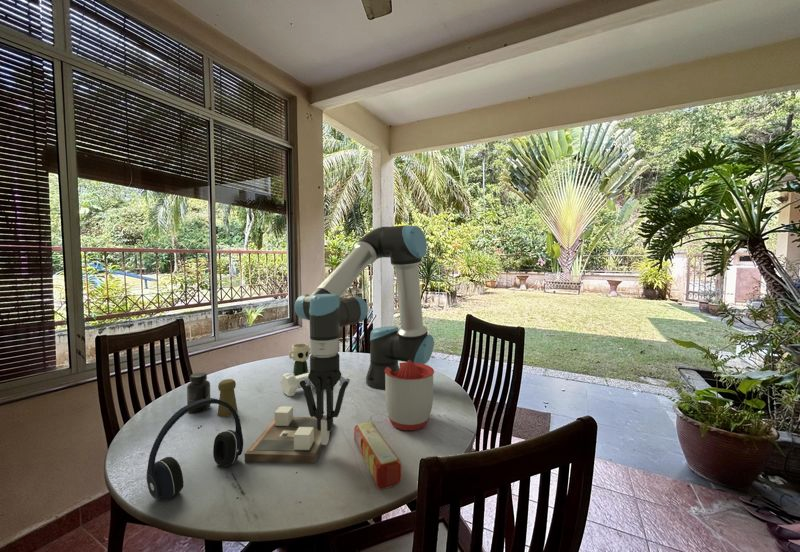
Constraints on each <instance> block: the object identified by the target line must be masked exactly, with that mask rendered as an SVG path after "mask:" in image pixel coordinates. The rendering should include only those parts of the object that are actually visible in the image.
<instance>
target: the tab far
mask: <svg viewBox="0 0 800 552" xmlns="http://www.w3.org/2000/svg"><path fill="white" fill-rule="evenodd" d="M293 417H294V407H293V406H285V405H283V406H279V407H278V408H277V409H276V410H275V412H274V419H275V426H289V424H290V423H291V421H292V420H293Z"/></svg>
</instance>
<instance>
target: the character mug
mask: <svg viewBox="0 0 800 552" xmlns="http://www.w3.org/2000/svg"><path fill="white" fill-rule="evenodd" d="M310 355H312V354H311V353H310V344H309V343H295V344H292V346H291V350H290V351H289V352H288V359H292V360H293V361H294V364H293V371H292V373H293V374H294V375H295V376H298V375H302V374H305V373H309V369H308V368H309V367H308V362H307V360H308V359H310Z"/></svg>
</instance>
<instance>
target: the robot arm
mask: <svg viewBox="0 0 800 552" xmlns="http://www.w3.org/2000/svg"><path fill="white" fill-rule="evenodd" d="M426 238H427V237H426V235H425V233H424V231H423V230H422V228H420V226H417V225H408V224H407V225H395V226H394V225H393V226H392V225H391V226H380V227H377V228H375V229H372V230H371V231H369V232H368V233H366V234H365V235H363V236H362V237H361V238H360V239H358V240H357V241H356V243H355V244H354V245H353V248H352V251H351V252H350V253H349V254H348V255H347V256H346V257H345V258H344V259H343V260H342V261H341V262H340V263H339V264H338V265H337V266H336V268H334V269H333V270H332V271H331V273H330V274H329V275H328V276H327V277H326V278H325V279H324V280H323V281H322V282H321V283H320V284H319V285H318V286H317V287H316V288H315V290H314V291H313V292H311V293H310V294H302V295H300V296H298V297H297V298H296V300H295V302H294V313H295V314H296V316H297V318H300V319H301V320H307V321H309V347H310V353H311V354H310V355H309V371H310V372H309V371H308V373H309V374H308V377H306V378H303V379H302V380H301V381H300V385H301V387H302V388H301V389H302V390H303V393H304V397H305V403H306V405H307V409H308V412H309V417H316V418H317V429H318V431H321V445H323V446H324V445H328V443H329V440H330V432H331V431H333V430H332V429H333V427H334V418H338V417H339V415H340V412H341V410H342V409H341V408H342V406H343V405H342V404H343V402H344V401H343V400H344V397H345V391H346V389H347V387H348V386H349V384H350V378H345V377H344V376H342V372H341V370H340V369H341V368H340V351H341V350H340V328H343V327H346V326H350V325H356V324H358V323H360V322H363V321H364V320H365V319H366V318H367V316H368V313H369V310H368V309H369V307H368V304H367V302H366V301H365V299H363V298H362V297H359V296H357V297H356V296H351V297H342V296H343V295H344V294H345V292H347V290H349V288H350V287H351V285H352V284H353V283H354V282H355V281H356V280H357V278H358V277H359V276H360V275H361V274H362V273H363V271H364V270H365V269H367V267H368V266H369V265H370V264H371V265H372V264H373V263H375V262H376V261H377V260H378V259H382V258H389V259H390V264H391V265H392V266H393V267H394V268H395V269H394V270H395V277H396V288H397V289H396V290H397V299H398V309H399V320H400V321H399V322H400V327H398V326H395V325H389V326H388V325H387V326H381V327H376V328H373V329H372V330H371V331H370V335H369V336H370V338H369V341H370V342H369V344H370V346H369V347H370V349H369V350H370V351H369V356H370V358H369V359H370V361H369V362H370V363H369V367H368V370H367V374H366V376H365V384H366V385H367V386H368V387H370V388H373V389H379V390H380V389H381V390H385V368H386V367H389V368H390V369H392V370H391V372H396V371H399V368H400V364H399V362H402V363H404V362H407V361H408V360H410V361H412V362H413V363H421V364H425V365H427V363H428V362H429V361H430V360H431V359H430V358H431V357H432V354H433V351H434V347H435V346H434V345H435V339H434V337H433V335H431V334H429V333H428V327H427V326H425V325H424V321H423V307H422V298H421V297H422V296H421V285H420V274H419V273H420V272H419V271H420V270H419V266H420V264H421V263H422V261H423V259H422V258H424V257H425V256H426V254H427V249H428V243H427V242H428V241H427V239H426ZM310 381H311V382H312V384H313V385H314V386H315V387H314V386H313V385H310V384H311V382H310ZM338 382H339V390H338V395H337V399H336V403H335V406H334V388H335V386H336V385H337V383H338ZM312 386H313V387H314V388H315V395H316V401H315V398H314V393H313V389H312ZM324 393H325V394H326V415H324V414H325V411H324V409H325V408H324V403H325V402H324V398H325V397H324ZM329 431H330V432H329Z"/></svg>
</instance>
